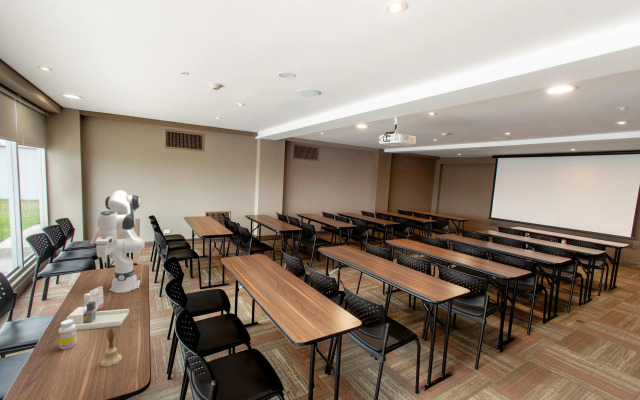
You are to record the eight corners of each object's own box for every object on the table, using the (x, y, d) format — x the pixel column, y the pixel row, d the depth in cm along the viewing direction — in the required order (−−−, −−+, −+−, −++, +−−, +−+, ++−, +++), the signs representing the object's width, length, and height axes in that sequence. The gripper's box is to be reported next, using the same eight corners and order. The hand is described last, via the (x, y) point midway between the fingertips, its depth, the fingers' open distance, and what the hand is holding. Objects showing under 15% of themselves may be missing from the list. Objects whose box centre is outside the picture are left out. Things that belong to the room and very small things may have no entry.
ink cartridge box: (97, 306, 179) (97, 284, 178) (103, 307, 178) (103, 285, 177) (83, 312, 171) (83, 289, 169) (90, 313, 170) (90, 290, 169)
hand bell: (97, 368, 124) (97, 335, 123) (103, 357, 132) (103, 325, 131) (119, 364, 128) (119, 332, 126) (124, 353, 135) (124, 323, 134)
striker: (90, 318, 162) (90, 301, 161) (96, 318, 163) (96, 300, 162) (86, 323, 157) (85, 305, 156) (92, 322, 158) (92, 304, 157)
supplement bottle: (62, 342, 141) (61, 319, 140) (78, 340, 143) (78, 317, 142) (56, 350, 135) (55, 326, 133) (73, 348, 137) (72, 323, 136)
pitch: (78, 317, 164) (78, 305, 164) (129, 313, 172) (128, 301, 172) (64, 331, 150) (64, 318, 149) (120, 325, 158) (119, 313, 158)
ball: (87, 311, 161) (92, 316, 162) (81, 316, 160) (85, 321, 161) (84, 315, 157) (89, 320, 158) (77, 319, 156) (82, 324, 157)
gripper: (108, 234, 174) (108, 255, 175) (93, 242, 155) (94, 265, 156) (120, 234, 176) (120, 254, 177) (107, 241, 157) (107, 265, 158)
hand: (108, 260), depth 166 cm, fingers open, 8 cm apart
